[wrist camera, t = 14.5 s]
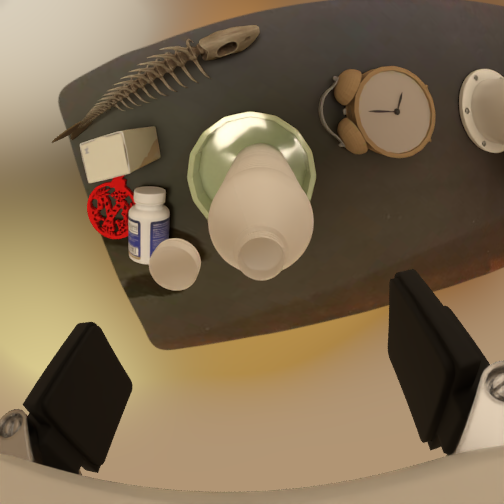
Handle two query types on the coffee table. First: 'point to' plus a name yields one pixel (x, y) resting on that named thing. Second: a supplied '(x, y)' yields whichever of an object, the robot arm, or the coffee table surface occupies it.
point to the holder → (237, 138)
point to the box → (119, 153)
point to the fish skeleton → (171, 69)
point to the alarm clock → (382, 111)
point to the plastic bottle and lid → (246, 222)
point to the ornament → (99, 195)
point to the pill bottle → (147, 223)
